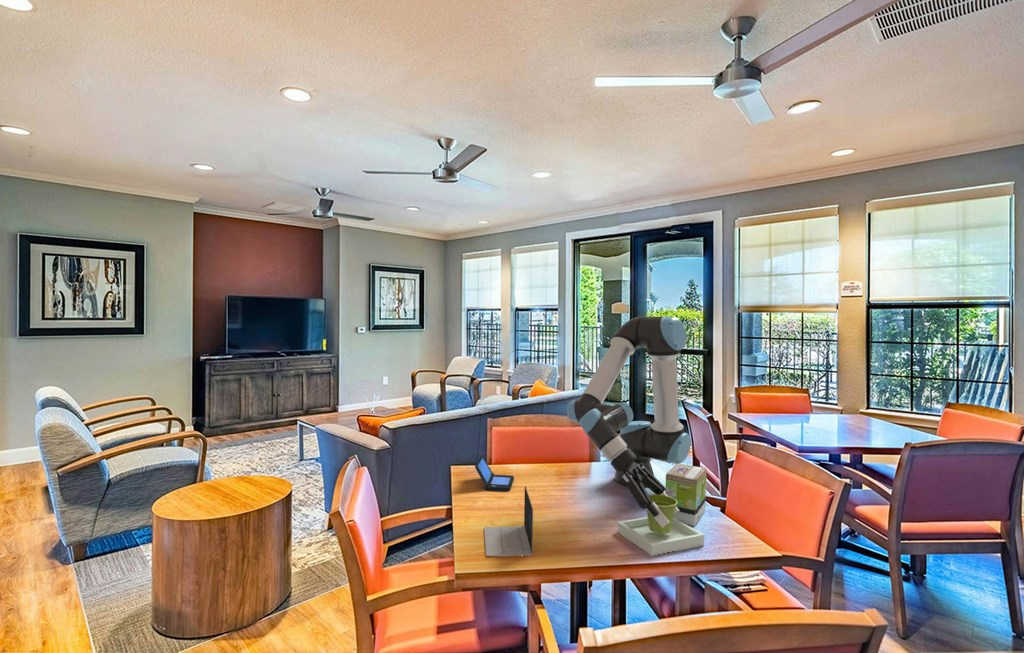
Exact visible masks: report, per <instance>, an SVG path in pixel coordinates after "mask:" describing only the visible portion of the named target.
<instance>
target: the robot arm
mask: <svg viewBox="0 0 1024 653" xmlns="http://www.w3.org/2000/svg"><path fill="white" fill-rule="evenodd" d="M686 344H687V331H686V327H685V325H684V323H683V322H682V321H681V320H680V318H678V317H675V316H674V317H673V316H637V317H634V318H631V319H630V320H628V321H626V322H625V323H624V324H622V326H619V328H618V329H617V330H616V331H615V332H614V335H613V336H612V338H611V339H610V346H609V348H608V350H607V352H606V353H605V355H604V356H603V359H601V361H600V363H599V366H598V367H597V369H596V370H595V372H594V374H593V375H592V377H591V379H590V381H589V382H588V384H587V386H586V388H585V389H584V390H583V392H582V395H581V396H580V397H579V399H572V400H571V401H569V402H568V404H567V407H566V415H567V417H568V419H569V420H570V421H572V422H575V423H579V426H580V428H582V429H583V431H584V433H585V434H586V435H587V436H588V438H589V439H590V440H591V441H592V443H594V445H595V446H596V447H597V449H598V450H599V451H600V453H601V454H602V456H603V457H605V458H606V459H607V460H606V461H608V462H610V465H611V466H612V468H613V469H614V470H615V472H614V481H615V482H616V483H618V484H620V485H624V486H626V487H627V488H628V491H629V493H631V495H632V496H633V499H634V500H635V501H636V503H637V504H638V507H640V508H641V509H642V510H645V509H646V511H647V510H648V511H649V512H650V513H651V515H652V516H653V517H654V518H655V520H656V521H657V522H658V523H659V525H660V526H661V527H662V528H663V527H664V526H666V525H667V524H668V523H670V521H669V520H668V519H667V518H666V516H665V515H664V514H663V513H662V511H661V510H660V509H659V508H658V506H657V505H656V504H655V503H654V502H653V503H652V501H651V499H650V498H649V496H648V495H649V494H648V491H647V490H646V488H647V489H649V491H650V492H652V493H654V494H657V495H665V496H667V495H666V493H665V490H666V488H665V485H663V484H662V482H661V481H660V480H659V479H657V477H656V476H655V474H654V470H653V466H652V464H651V459H652V460H657V461H660V462H665V463H667V464H674V465H676V464H677V463H678V464H683V463H684V461H685V460H687V458H688V456H689V454H690V450H691V447H692V446H691V444H692V441H691V440H692V439H691V436H690V434H689V433H687V432H685V431H684V430H685V429H684V428H685V427H684V425H683V424H682V423H681V421H680V416H679V414H680V412H679V394H678V393H679V391H678V372H677V371H678V370H677V357H678V356H680V354H681V350H683V349H684V348H685V346H686ZM639 348H640V349H641V348H643V349H646V355H647V356H648V357H649V358H650V359H651V372H652V373H651V374H652V376H651V377H652V393H653V397H652V398H653V415H654V421H653V423H651V421H646V420H634V411H633V408H631V406H630V405H629V404H627V403H625V402H618V403H615V404H614V405H610V404H604V401H605V399H606V397H607V396H608V394H609V392H610V390H611V389H612V387H613V385H614V383H615V382H616V380H617V378H618V376H619V375H620V373H621V371H622V369H623V367H624V365H625V364H626V362H627V360H628V358H629V357H630V356H632V355H634V354H635V352H636V350H637V349H639ZM619 431H620V432H619ZM618 432H619V433H618ZM678 511H679V509H678V508H677V507H675V509H674V514H676V513H677V512H678ZM674 514H673V515H674Z"/></svg>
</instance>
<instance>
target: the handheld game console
mask: <svg viewBox="0 0 1024 653" xmlns="http://www.w3.org/2000/svg"><path fill="white" fill-rule="evenodd" d="M474 468H475V470H476V472H477V473H478V475H479V477H480V478H481V481H482V482H483V485H484V490H485V491H495V492H496V491H497V492H499V491H500V492H509V491H511V490H512V486H513V483H514V479H515V476H514V475H508V474H507V475H506V474H495V473H494V472H493V471H492V469H491V468H490V466H489V464H488V462H487V461H486V459H485V457H484V456H483V455H480V456H479V458H478V459H477V461H476V462H475V464H474Z"/></svg>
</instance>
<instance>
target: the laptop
mask: <svg viewBox="0 0 1024 653" xmlns="http://www.w3.org/2000/svg"><path fill="white" fill-rule="evenodd" d="M523 508H524V511H523V512H524V514H523V515H524V516H523V517H524V518H523V525H520V526H519V525H518V526H517V525H514V526H511V525H510V526H484V527H483V532H484V548H485V550H484V551H485V557H494V558H495V557H498V558H499V557H501V558H503V557H506V558H507V557H508V558H509V557H511V556H512V557H511V558H514V557H513V556H521V555H523V556H524V557H532V556H533V550H534V549H533V547H534V541H533V540H534V539H533V538H534V507H533V505H532V502H531V498H530V494H529V493H528V489H527V486H524V507H523ZM525 555H527V556H525Z"/></svg>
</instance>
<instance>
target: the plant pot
mask: <svg viewBox="0 0 1024 653" xmlns="http://www.w3.org/2000/svg"><path fill="white" fill-rule="evenodd" d="M648 496H649V498H650V499H651V501H652V503H653V502H654V503H655V504H656V505H657V506H658V508H659V509H660V510H661V511H662V513H663V514H664V515H665V516H666V518H667V519H668V520H669V521H670V523H668V524H667V525H666V526H664V527H663V528H662V527H661V526H660V525H659V523H658V522H657V521H656V520H655V518H654V517H653V516H652V515H651V513H650V512H649V511H648V510H647V509H646V514H647V517H648V524H649V529H650V530H651V531H653V532H658V533H660V534H666V533H669V532H670V531H671V527H672V520H673V514H674V509H675V507H676V505H677V500H676V499H674V498H672V497H669V496H665V495H657V494H655V493H654V494H648Z"/></svg>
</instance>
